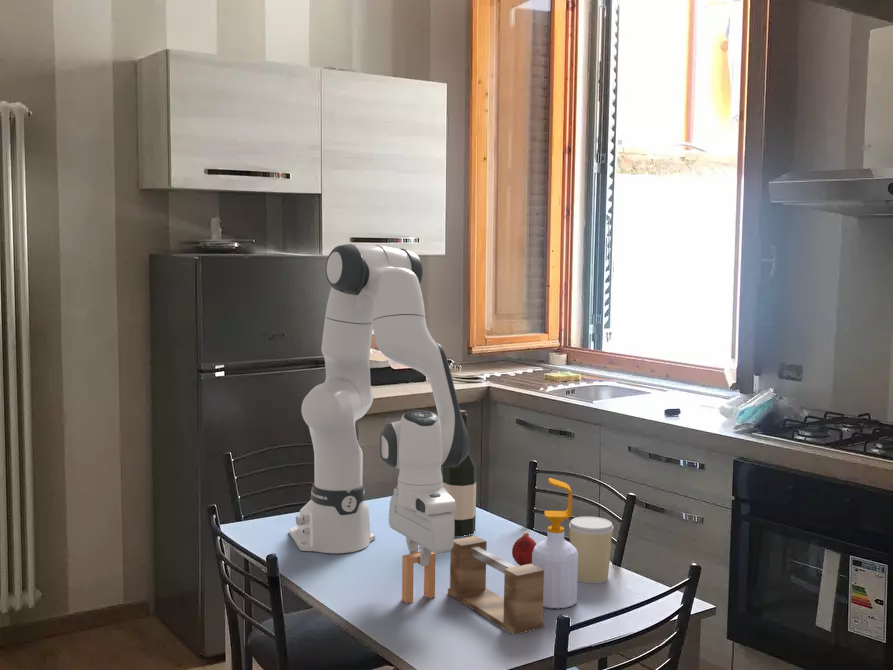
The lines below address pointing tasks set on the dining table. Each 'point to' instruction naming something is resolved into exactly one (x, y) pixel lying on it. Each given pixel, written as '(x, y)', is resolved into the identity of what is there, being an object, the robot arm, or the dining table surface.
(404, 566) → the wooden arch
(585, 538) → the coffee cup
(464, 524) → the wine bottle
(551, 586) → the soap bottle
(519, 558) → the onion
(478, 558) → the wooden rail stand
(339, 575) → the dining table surface
